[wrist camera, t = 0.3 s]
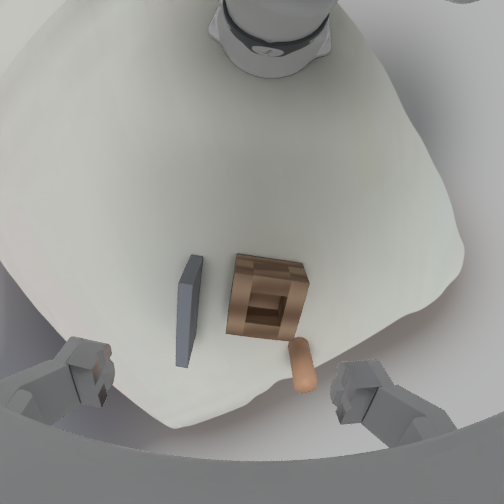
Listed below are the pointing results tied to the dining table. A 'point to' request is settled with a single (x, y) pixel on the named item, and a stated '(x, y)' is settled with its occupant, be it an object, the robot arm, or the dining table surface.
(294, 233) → the dining table surface
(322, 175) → the dining table surface
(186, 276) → the wall
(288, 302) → the socket block
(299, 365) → the dowel
